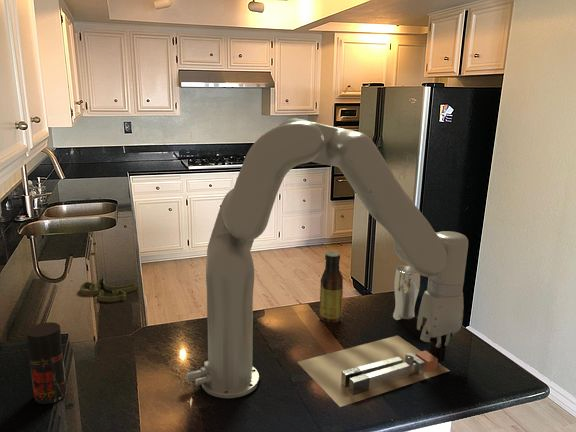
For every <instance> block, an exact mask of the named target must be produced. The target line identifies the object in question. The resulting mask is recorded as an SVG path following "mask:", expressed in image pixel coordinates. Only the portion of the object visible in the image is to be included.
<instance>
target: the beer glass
mask: <svg viewBox="0 0 576 432" xmlns="http://www.w3.org/2000/svg"><path fill="white" fill-rule="evenodd" d="M395 269H396V270H395V274H394V275H395V276H394V282H393V283H394V286H393V287H394V299H395V300H394V301H395V303H394V304H395V306H394V307H395V308H394V311H393V313H392V317H393V318H392V319H394V320H395V321H398V320H402V319H403V320H411V319H414V318H415V306H416V302H417V299H418V296H419V292H420V287H421V275H420V274H418V273H416V272H415V271H414V270H413V269H412V268H411V267H410V266H408V265H407V264H404V265H403V264H401V265H398V266H396V268H395Z"/></svg>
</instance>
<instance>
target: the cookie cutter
mask: <svg viewBox="0 0 576 432" xmlns="http://www.w3.org/2000/svg"><path fill="white" fill-rule="evenodd" d="M106 283H107V282H106V278H102V277H100V278H99V279H98V280H97V281H96V283H94V282H89V281H85V282H83V283H82V284H81V285H80V286H79V288H80V289H79V290H80V294H81V295H83V296H92V297H93V296H97V299H98V301H99V302H103V303H104V302H105V303H115V302H120V301H124V302H125V301H126V298H127V293H131V292H134V291H137V290H139V289H138V284H137V283H132V284H131V283H130V284H126V285H119V286H118V285H116V286H114V285H107V284H106ZM101 284H103V289H104V290H106V291H109V292H112V294H111V295H112V296H105V295H104V290H103V289H98V287H100V285H101ZM86 288H89V290H85V289H86Z"/></svg>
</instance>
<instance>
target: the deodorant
mask: <svg viewBox="0 0 576 432" xmlns="http://www.w3.org/2000/svg"><path fill="white" fill-rule="evenodd" d="M61 332H62V331H61V325H60V324H59V323H57V322H52V321H51V322H48V321H47V322H42V323H37V324H35V325H32V326H30V327H29V328H28V329H27V330H26V332H25V334H26V341H27V351H28V359H29V365H30V375H31V382H32V391H33V398H35V400H37V401H39V402H45V401H48V400H51V399H56V398H59V397H61V396H63V394H65V392H66V389H67V381H66V371H65V361H64V353H63V351H64V350H63V343H62V342H63V341H62V333H61ZM35 400H34V401H35Z"/></svg>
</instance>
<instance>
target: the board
mask: <svg viewBox="0 0 576 432" xmlns="http://www.w3.org/2000/svg"><path fill="white" fill-rule="evenodd" d="M422 351H423V350H420V349H418V348H417V347H416V346H414V345H412V344H411V343H410V342H408V341H407V340H405V339H404V338H402V337H401V336H400V335H394V336H390V337H387V338H382V339H379V340H375V341H370V342H368V343H363V344H360V345H359V344H358V345H356V346H353V347H349V348H344V349H341V350H337V351H334V352H330V353H326V354H322V355H319V356H314V357H310V358H308V359H307V358H306V359H303V360H299V361H297V362H296V363H297V364H298V365H299V366H300V367H301V368H302V369H303V370H304V371H305V372H306V373H307V375H308V376H310V377H311V379H312V380H313V381H314V382H315V383H316V384H317V385H318V386H319V387H320V388H321V389H322V390H323V391H324V392H325V393H326V394H327V395H328V396H329V398H330V399H332V401H333V402H335V404H336V405H338V407H339V408H342V407H345V406H348V405H351V404H354V403H357V402H360V401H362V400H365V399H366V400H367V399H368V398H372V397H374V396H379V395H381V394H384V393H387V392H391V391H393V390H396V389H399V388H402V387H406V386H408V385H411V384H412V385H413V384H415V383H419V382H420V381H424V380H426V379H427V380H428V379H430V378H433V377H436V376H438V375H441V374H444V373H447V372H451V370H449V368H447V367H446V366H444V365H442V364H440V363H437V369H434V370H431V371H428V372H427V371H425V370H424V374H423V375H419V376H418V375H417V374H415V373H412V374H409V378H406V379H403V380H400V381H397V382H394V383H390V384H387V385H384V386H381V387H378V388H375V389H372V390H369V391H366V392H363V393H360V394H357V395H354V396H353V395H352V394H351V393H350V392H349V387H344V386H343V385H342V384H341V377H342V371H344V370H348V369H352V368H356V367H360V366H364V365H368V364H372V363H376V362H379V361H383V360H387V359H391V358H395V357H400V358H401V359H402V360H403V362H402V363H404V362H405V356H406V354H407V353H410V352H411V353H412V354H414V355H415V356H416V353H419V352H422Z"/></svg>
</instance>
